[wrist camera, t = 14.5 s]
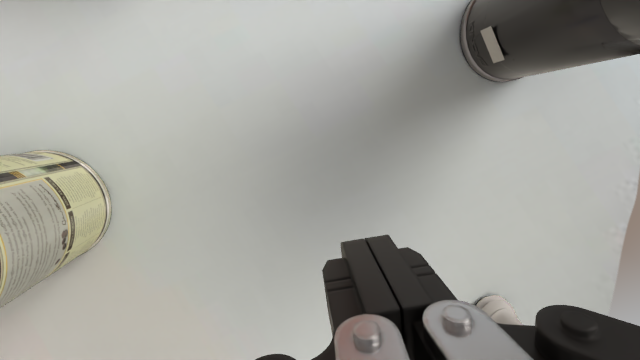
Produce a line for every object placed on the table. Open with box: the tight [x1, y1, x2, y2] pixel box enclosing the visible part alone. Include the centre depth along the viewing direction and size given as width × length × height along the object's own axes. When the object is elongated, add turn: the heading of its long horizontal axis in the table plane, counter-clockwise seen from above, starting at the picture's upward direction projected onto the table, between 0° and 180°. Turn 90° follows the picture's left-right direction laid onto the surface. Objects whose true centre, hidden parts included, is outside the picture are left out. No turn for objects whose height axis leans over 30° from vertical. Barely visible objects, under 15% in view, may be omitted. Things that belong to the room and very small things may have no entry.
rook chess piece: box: [476, 295, 523, 325], centre depth 34 cm, size 4×4×8 cm
